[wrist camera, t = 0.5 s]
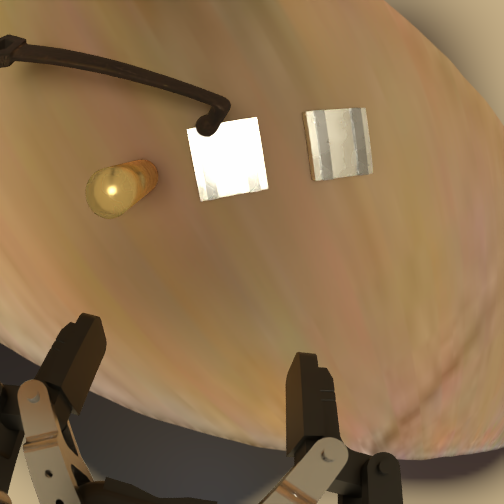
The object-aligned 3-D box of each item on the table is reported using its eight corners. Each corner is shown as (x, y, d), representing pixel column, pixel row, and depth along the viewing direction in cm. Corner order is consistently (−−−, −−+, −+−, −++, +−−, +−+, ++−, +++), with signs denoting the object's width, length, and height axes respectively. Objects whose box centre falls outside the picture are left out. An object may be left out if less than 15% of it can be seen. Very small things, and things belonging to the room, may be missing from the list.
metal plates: (188, 130, 32) (186, 129, 30) (359, 108, 33) (366, 107, 32) (201, 198, 35) (200, 202, 33) (367, 171, 36) (374, 173, 34)
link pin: (121, 164, 32) (80, 175, 21) (154, 155, 33) (126, 162, 21) (129, 197, 34) (92, 223, 23) (161, 189, 34) (137, 212, 23)
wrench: (214, 120, 33) (-14, 64, 20) (235, 88, 29) (-13, 28, 16) (210, 151, 31) (-38, 91, 17) (233, 118, 27) (-41, 53, 13)
